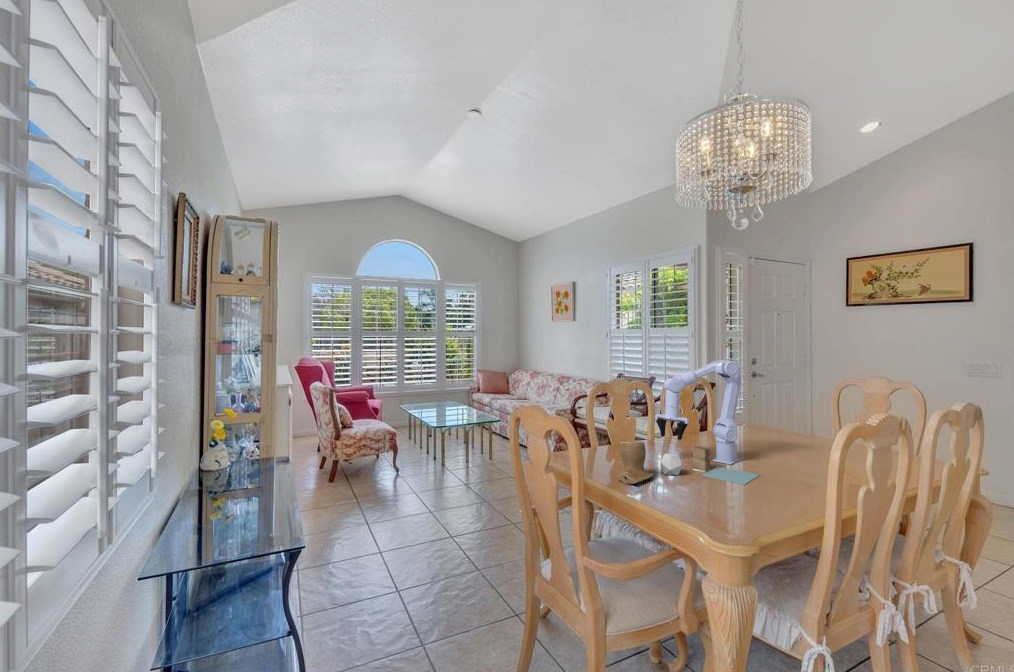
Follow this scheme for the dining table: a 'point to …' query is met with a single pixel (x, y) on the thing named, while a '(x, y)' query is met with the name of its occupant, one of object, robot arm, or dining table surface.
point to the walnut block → (701, 458)
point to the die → (671, 464)
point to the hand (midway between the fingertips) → (671, 437)
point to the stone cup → (633, 462)
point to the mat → (731, 475)
